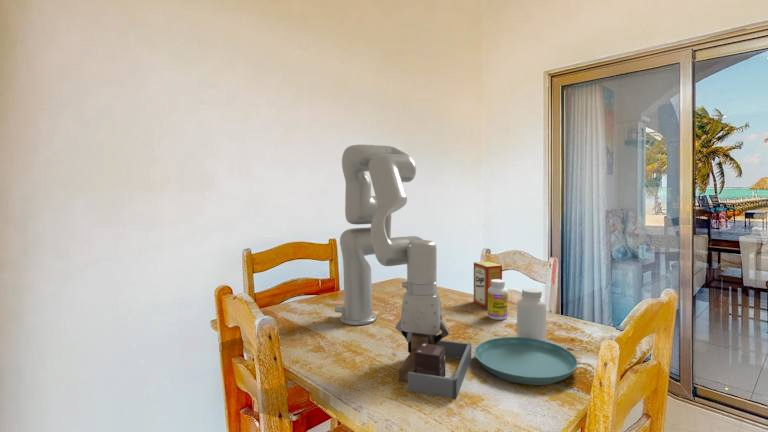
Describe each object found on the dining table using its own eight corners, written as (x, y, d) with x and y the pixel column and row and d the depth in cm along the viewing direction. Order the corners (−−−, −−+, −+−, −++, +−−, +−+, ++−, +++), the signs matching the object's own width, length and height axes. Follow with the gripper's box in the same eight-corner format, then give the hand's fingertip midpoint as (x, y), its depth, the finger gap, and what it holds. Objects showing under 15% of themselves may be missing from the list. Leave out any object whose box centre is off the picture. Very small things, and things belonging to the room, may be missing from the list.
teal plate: (497, 341, 118) (497, 330, 117) (588, 363, 102) (588, 350, 102) (457, 371, 99) (457, 358, 99) (560, 402, 84) (561, 387, 84)
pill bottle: (545, 337, 120) (545, 287, 118) (546, 347, 112) (547, 294, 111) (517, 334, 122) (517, 286, 121) (516, 344, 115) (516, 292, 114)
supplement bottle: (490, 320, 135) (491, 283, 134) (485, 314, 142) (485, 278, 141) (510, 320, 135) (510, 282, 135) (504, 314, 142) (504, 278, 141)
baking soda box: (473, 301, 158) (473, 261, 157) (488, 300, 160) (488, 260, 159) (486, 308, 149) (486, 265, 148) (501, 306, 151) (502, 264, 150)
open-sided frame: (407, 390, 89) (407, 373, 89) (431, 352, 109) (431, 338, 109) (456, 398, 85) (456, 380, 85) (471, 358, 106) (471, 343, 105)
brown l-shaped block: (397, 381, 94) (396, 351, 93) (416, 355, 108) (416, 330, 107) (415, 384, 92) (415, 354, 92) (432, 358, 106) (432, 332, 106)
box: (439, 387, 90) (439, 355, 90) (414, 383, 93) (413, 352, 92) (445, 375, 96) (445, 345, 96) (421, 371, 98) (421, 342, 98)
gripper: (386, 289, 103) (386, 358, 104) (451, 294, 97) (451, 368, 98) (395, 282, 110) (396, 347, 111) (457, 287, 104) (457, 355, 105)
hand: (422, 356), depth 105 cm, fingers closed on brown l-shaped block, 4 cm apart
